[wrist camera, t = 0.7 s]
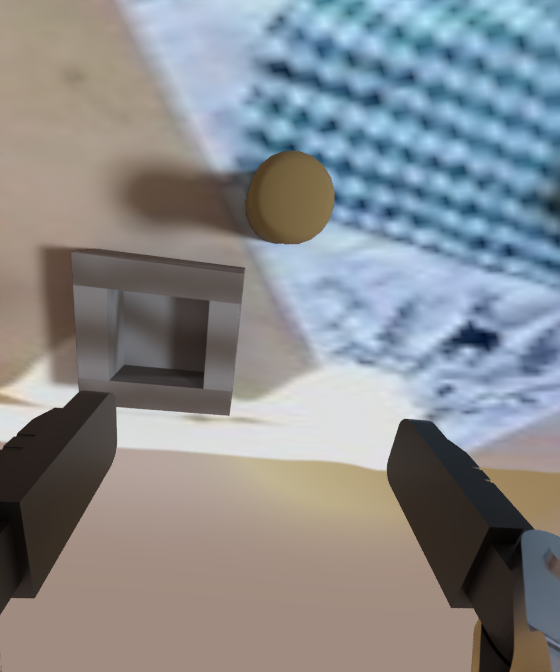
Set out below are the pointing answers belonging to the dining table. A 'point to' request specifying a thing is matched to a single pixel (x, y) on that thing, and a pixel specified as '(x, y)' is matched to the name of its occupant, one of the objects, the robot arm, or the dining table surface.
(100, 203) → the dining table surface
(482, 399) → the dining table surface
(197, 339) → the square holder
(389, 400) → the dining table surface
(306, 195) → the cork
